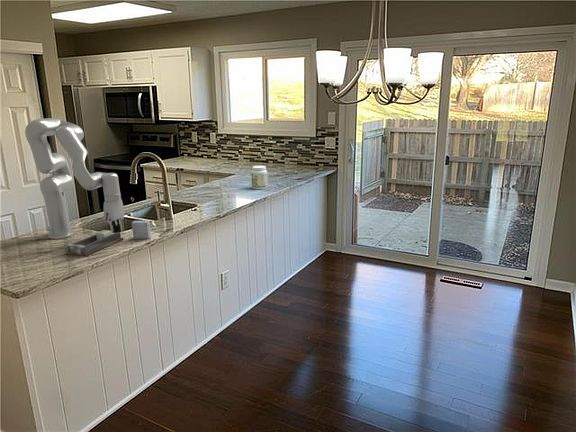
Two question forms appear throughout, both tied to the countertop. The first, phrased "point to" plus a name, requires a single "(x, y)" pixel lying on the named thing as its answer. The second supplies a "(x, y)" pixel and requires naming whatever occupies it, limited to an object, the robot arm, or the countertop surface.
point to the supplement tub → (259, 177)
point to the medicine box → (141, 230)
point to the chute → (93, 244)
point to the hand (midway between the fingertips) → (117, 232)
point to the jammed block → (103, 234)
